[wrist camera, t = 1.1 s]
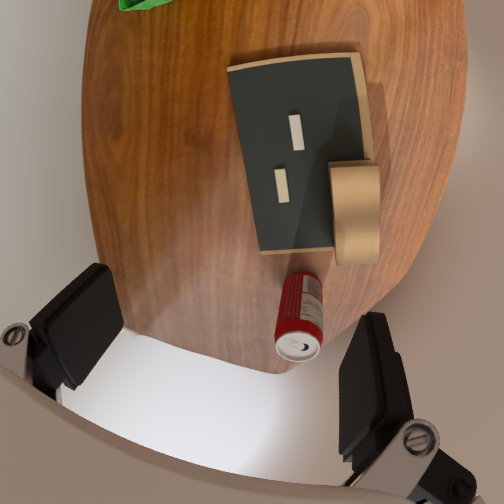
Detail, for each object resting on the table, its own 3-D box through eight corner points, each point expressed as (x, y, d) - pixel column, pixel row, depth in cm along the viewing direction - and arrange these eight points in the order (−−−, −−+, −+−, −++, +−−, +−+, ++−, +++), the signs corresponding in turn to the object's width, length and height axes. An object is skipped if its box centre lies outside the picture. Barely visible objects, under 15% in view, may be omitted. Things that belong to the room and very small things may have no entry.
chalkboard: (228, 68, 27) (226, 67, 26) (358, 53, 23) (359, 52, 22) (262, 251, 38) (260, 255, 37) (373, 244, 34) (375, 248, 33)
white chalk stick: (288, 115, 28) (288, 115, 27) (299, 114, 27) (299, 114, 27) (293, 150, 30) (293, 150, 29) (304, 148, 29) (304, 149, 29)
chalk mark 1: (274, 169, 31) (274, 169, 31) (285, 168, 31) (284, 168, 30) (279, 201, 33) (279, 202, 32) (289, 200, 33) (289, 202, 32)
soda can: (280, 297, 41) (268, 360, 30) (287, 266, 38) (277, 327, 28) (316, 305, 40) (314, 368, 30) (326, 275, 37) (329, 337, 27)
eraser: (327, 160, 29) (330, 167, 25) (370, 157, 28) (379, 165, 24) (333, 247, 34) (336, 265, 30) (371, 244, 33) (378, 263, 29)
